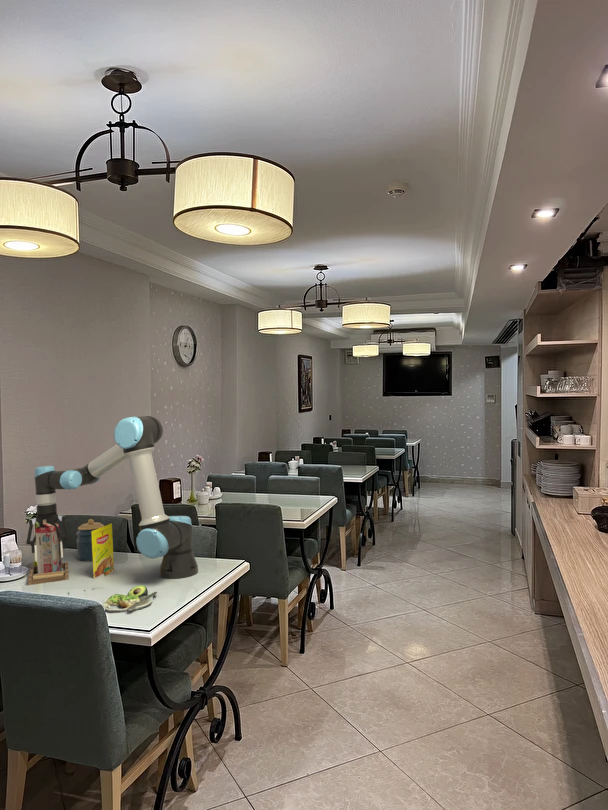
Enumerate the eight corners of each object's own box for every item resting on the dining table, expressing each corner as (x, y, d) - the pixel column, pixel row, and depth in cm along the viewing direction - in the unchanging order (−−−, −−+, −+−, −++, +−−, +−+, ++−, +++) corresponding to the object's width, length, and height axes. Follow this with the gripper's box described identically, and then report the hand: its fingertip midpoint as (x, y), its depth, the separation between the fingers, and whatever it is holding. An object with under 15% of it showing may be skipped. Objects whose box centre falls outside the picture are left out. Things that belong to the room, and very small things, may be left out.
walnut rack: (68, 583, 231) (68, 574, 231) (28, 588, 226) (28, 579, 226) (68, 570, 251) (68, 561, 251) (31, 575, 245) (30, 566, 245)
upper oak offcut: (63, 579, 232) (63, 574, 232) (33, 582, 229) (32, 577, 229) (65, 575, 237) (64, 570, 237) (35, 579, 234) (35, 574, 234)
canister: (78, 555, 275) (76, 518, 275) (107, 552, 279) (105, 515, 279) (76, 562, 263) (74, 523, 263) (107, 559, 267) (105, 520, 267)
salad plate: (155, 612, 194) (154, 598, 194) (98, 618, 191) (97, 604, 191) (158, 594, 213) (157, 581, 213) (106, 599, 210) (105, 587, 210)
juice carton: (61, 569, 245) (59, 516, 245) (53, 574, 238) (50, 519, 238) (46, 570, 246) (43, 517, 246) (38, 574, 239) (35, 520, 239)
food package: (95, 582, 231) (92, 531, 231) (92, 582, 231) (90, 531, 231) (115, 571, 246) (112, 523, 246) (112, 570, 246) (110, 523, 246)
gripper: (74, 499, 250) (77, 552, 250) (17, 505, 241) (20, 560, 241) (74, 502, 243) (77, 556, 243) (16, 508, 234) (19, 564, 234)
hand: (49, 558), depth 242 cm, fingers closed on juice carton, 9 cm apart
